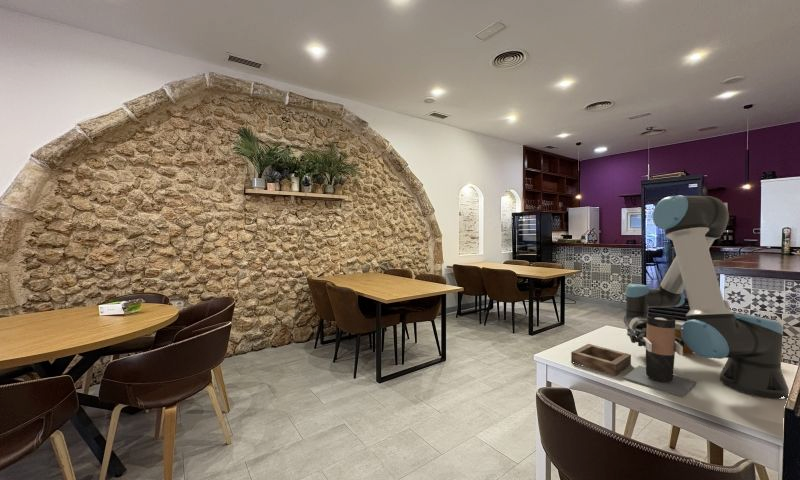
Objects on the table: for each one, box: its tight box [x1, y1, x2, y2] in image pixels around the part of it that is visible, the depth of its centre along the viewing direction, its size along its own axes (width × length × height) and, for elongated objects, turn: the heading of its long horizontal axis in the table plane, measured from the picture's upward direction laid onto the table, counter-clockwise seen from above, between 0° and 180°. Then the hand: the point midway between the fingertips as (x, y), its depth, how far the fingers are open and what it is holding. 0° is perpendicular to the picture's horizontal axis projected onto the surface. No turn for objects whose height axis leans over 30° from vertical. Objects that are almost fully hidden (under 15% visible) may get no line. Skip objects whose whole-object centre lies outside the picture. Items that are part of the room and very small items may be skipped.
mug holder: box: [570, 343, 632, 377], centre depth 126 cm, size 15×15×4 cm
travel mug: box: [645, 314, 676, 381], centre depth 111 cm, size 8×8×20 cm
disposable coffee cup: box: [675, 319, 694, 355], centre depth 138 cm, size 10×10×12 cm
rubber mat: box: [622, 365, 697, 399], centre depth 112 cm, size 16×16×1 cm
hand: (665, 349), depth 107 cm, fingers closed on travel mug, 7 cm apart
